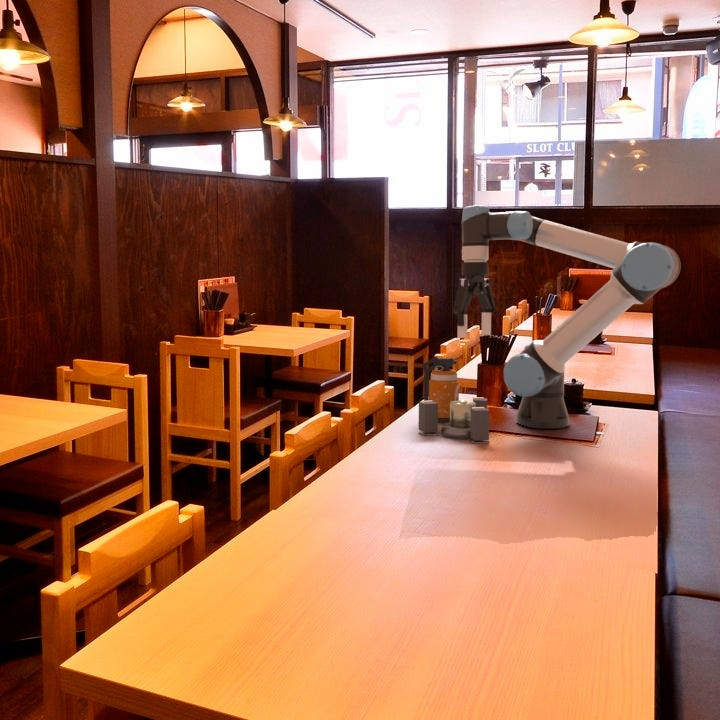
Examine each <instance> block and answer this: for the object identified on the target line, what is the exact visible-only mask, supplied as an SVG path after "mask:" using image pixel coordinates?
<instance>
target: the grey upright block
mask: <svg viewBox="0 0 720 720" xmlns="http://www.w3.org/2000/svg"><path fill="white" fill-rule="evenodd" d="M438 424H439V423H438V403H436V402H433V401H432V400H430V401H424V400H421V401H418V431H419V432H420V431H422V432H424V433H427V432H439V431H438V427H439V425H438Z"/></svg>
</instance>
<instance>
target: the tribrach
mask: <svg viewBox="0 0 720 720" xmlns="http://www.w3.org/2000/svg"><path fill="white" fill-rule="evenodd" d="M472 407H475V402H473V401H469V400H466V399H465V400H459V401H452V402H450V422H448V423H443V424H440V432H439V431H438V432H427V433H424V432H422V431H420V430H419V431H418V434H419V435H420V436H421V435H422V436H430V437H431V436H437V435H439V436H441V437H443V438H448V439H452V440H453V439H454V440H469V442H470V443H471V444H478V445H484V444H489V443H490V439H489V440H477V441H474V440H473V439H472V438H470V423H471V408H472Z"/></svg>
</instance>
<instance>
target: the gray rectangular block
mask: <svg viewBox="0 0 720 720" xmlns="http://www.w3.org/2000/svg"><path fill="white" fill-rule="evenodd" d="M470 438H472V439H473V440H474V441H477V440H489V441H490V410H489V409H488V408H487V409H486V408H484V407H472V408H471V423H470Z"/></svg>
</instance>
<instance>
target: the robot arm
mask: <svg viewBox="0 0 720 720" xmlns="http://www.w3.org/2000/svg"><path fill="white" fill-rule="evenodd" d="M494 240H497V241H498V240H499V241H500V240H501V241H502V240H511V241H520V242H523V243H527V244H530V245H533V246H537V247H542V248H544V249H548V250H551V251H554V252H558V253H561V254H565V255H568V256H571V257H574V258H578V259H581V260H585V261H587V262H591V263H595V264H598V265H601V266H604V267H608V268H611V269H612V270H610V279H609V280H608V282H606V283H605V284H604V285H603V286H602V287H601V288H599V289H598V290H597V291H596V292H595V293H594V294H593V295H592V296H591V297H590V298H589V299H587V300H586V301H585V302H584V303H583V304H582V305H581V306H580V307H579V308H577V309H576V310H575V311H574V312H573V313H572V314H571V315H570V316H568V317H567V318H566V319H565V320H564V321H563V322H561V324H559V325H558V326H557V327H556V328H554V330H553V331H552V332H551V333H549V334H548V335H547V336H546V337H545V338H544V339H534V340H533V341H532V342H531V343H530V344H527V345H526V346H524V348H523V350H522V351H521V352H519V354H516V355H512V357H511V358H509V360H507V362H506V363H505V365H504V368H503V380H504V383H505V384H506V387H507V388H508V389H509V390H510V391H511V392H512V393H513V394H515V395H517V396H519V397H522V398H521V400H520V401H521V402H520V404H519V407H518V410H517V412H516V415H515V416H516V417H515V422H516V421H517V422H518V423H520V424H521V425H520V426H522V425H524V426H523V427H526V426H527V428H532V429H533V428H535V429H562V428H566V426H567V427H568V426H570V416H569V413H568V409H567V406H566V402H565V399H564V395H565V394H564V393H565V390H564V389H565V371H566V370H565V369H566V367H565V365H566V363H567V362H568V361H571V359H572V358H573V357H574V356H575V355H577V354H578V353H579V352H580V351H582V349H583V348H585V346H587V345H588V344H590V342H592V341H593V340H594V339H595V338H597V336H598V335H599V334H601V333H602V332H603V331H604V330H605V329H607V328H608V327H609V326H610V325H611V324H612V323H613V322H615V321H616V320H617V319H618V318H619V317H621V316H622V315H623V314H624V313H625V312H626V311H627V310H628V309H630V308H631V307H632V306H633V305H643V304H645V303H646V302H647V301H648V300H649V299H651V298H652V297H653V296H654V295H656V293H658V292H659V291H661V289H664V288H667V287H668V286H670V285H672V284H673V283H674V282H675V281H676V280H677V279H678V277H679V274H680V272H681V266H682V265H681V260H680V257H679V255H678V254H677V252H676V251H675V250H674V249H673V248H671V247H669V246H668V245H664V244H661V243H658V242H654V241H653V242H652V241H651V242H639V241H636V240H635V241H634V242H631V243H630V242H629V243H628V242H625V241H622V240H618V239H615V238H611V237H608V236H604V235H601V234H598V233H597V234H596V233H594V232H589V231H586V230H582V229H579V228H575V227H571V226H567V225H564V224H561V223H557V222H554V221H550V220H547V219H542V218H539V217H536V216H534V215H531V213H530V212H529V211H527V210H524V211H522V210H514V211H505V212H504V211H503V212H502V211H501V212H500V211H499V212H490V209H489V206H488V205H487V206H486V205H469V206H464V208H463V210H462V216H461V241H462V242H461V246H462V247H461V260H462V261H463V262H462V263H461V275H462V276H465V278H459V279H458V288H457V291H456V295H455V298H454V302H453V307H452V313H453V315H456V316H457V319H456V320H457V323H456V324H457V339H467V338H468V314H466V313H467V311H468V309H469V306H470V304H471V302H472V300H473V297H474V296H475V297H477V299H478V301H479V304H480V307H481V309H482V311H483V312H481V336H491V335H492V313H495V311H496V308H497V307H496V303H495V299H494V294H493V292H492V291H493V290H492V286H491V285H492V284H491V279H490V278H485V276H488V275H489V263H488V262H487V261H489V255H490V254H489V253H490V252H489V250H490V249H489V248H490V247H489V244H490V243H489V242H490V241H494Z"/></svg>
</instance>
